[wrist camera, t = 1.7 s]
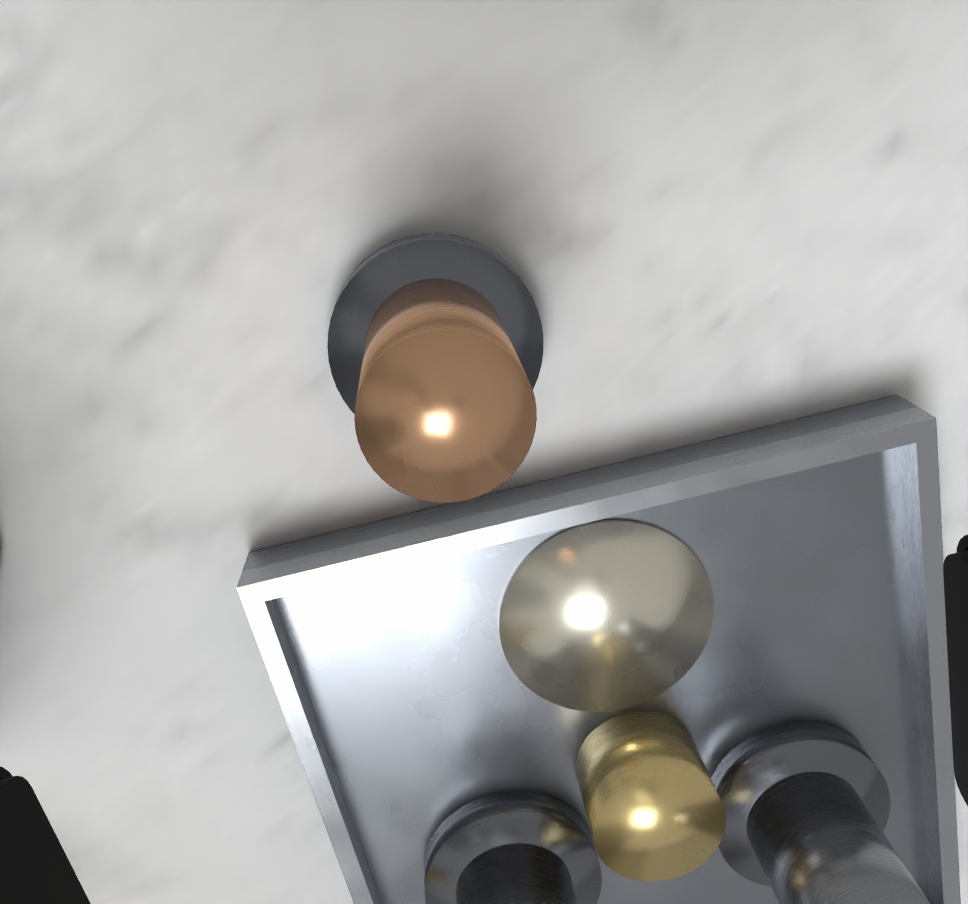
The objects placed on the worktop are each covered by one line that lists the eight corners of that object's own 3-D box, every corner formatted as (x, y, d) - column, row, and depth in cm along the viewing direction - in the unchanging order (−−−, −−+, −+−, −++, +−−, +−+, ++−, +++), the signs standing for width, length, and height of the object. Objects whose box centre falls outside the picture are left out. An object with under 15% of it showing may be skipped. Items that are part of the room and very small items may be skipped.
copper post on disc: (304, 261, 25) (269, 319, 18) (513, 210, 25) (554, 249, 18) (362, 456, 27) (349, 571, 20) (555, 409, 27) (605, 509, 20)
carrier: (248, 552, 28) (188, 727, 20) (896, 394, 28) (1091, 508, 20) (414, 1011, 35) (418, 1273, 27) (929, 887, 35) (1081, 1113, 27)
